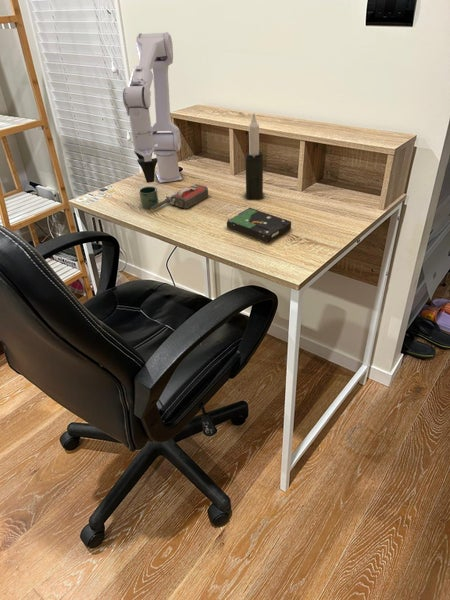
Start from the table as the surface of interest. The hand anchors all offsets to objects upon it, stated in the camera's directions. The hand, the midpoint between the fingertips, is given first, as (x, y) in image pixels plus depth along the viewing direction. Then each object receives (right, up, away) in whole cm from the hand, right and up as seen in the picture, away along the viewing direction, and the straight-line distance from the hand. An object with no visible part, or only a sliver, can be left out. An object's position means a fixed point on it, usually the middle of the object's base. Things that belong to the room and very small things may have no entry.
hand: (148, 177), depth 137 cm
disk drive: (+32, -18, -12) cm, 39 cm away
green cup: (0, -8, +4) cm, 9 cm away
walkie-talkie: (+10, -7, +4) cm, 13 cm away
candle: (+32, -4, +6) cm, 33 cm away
